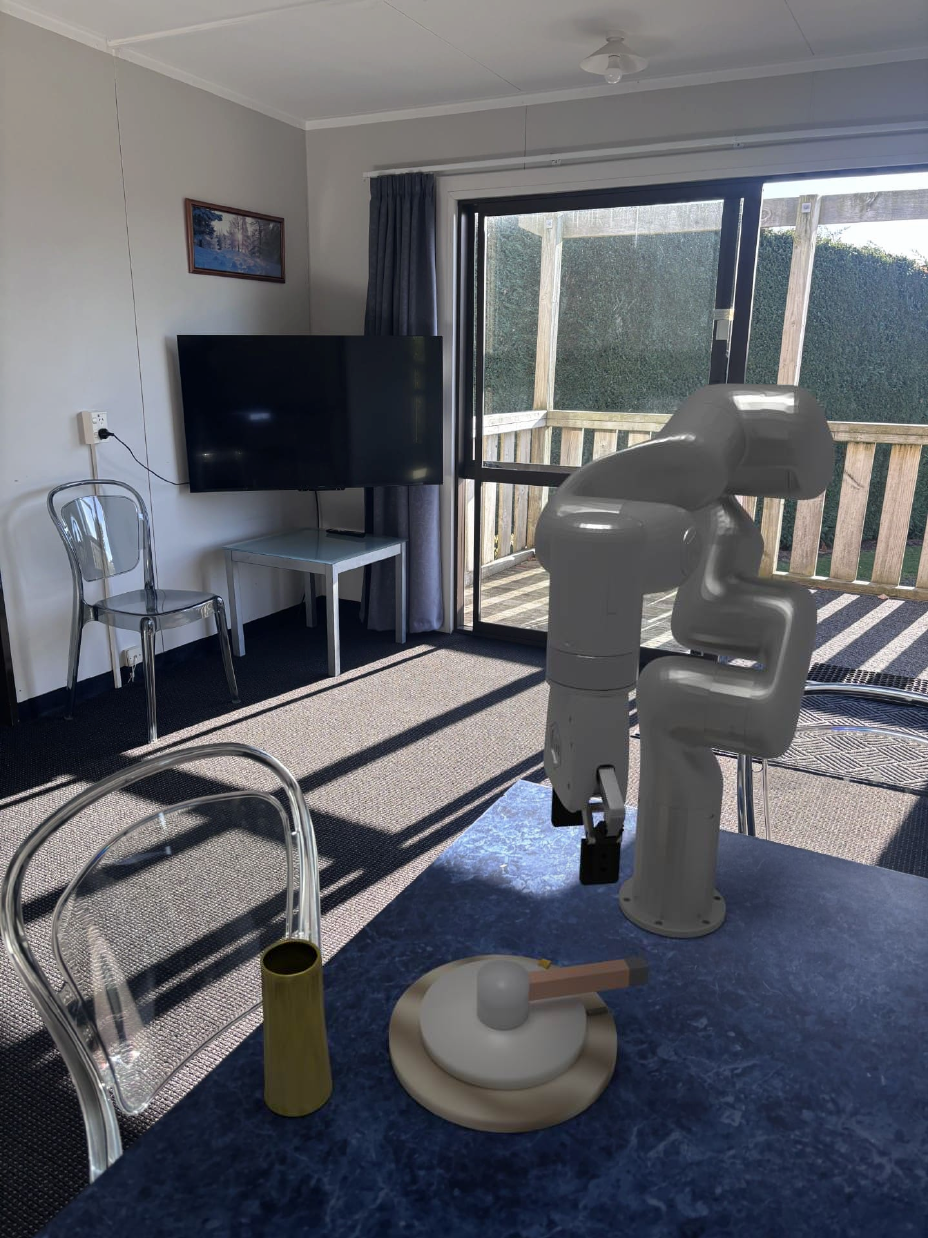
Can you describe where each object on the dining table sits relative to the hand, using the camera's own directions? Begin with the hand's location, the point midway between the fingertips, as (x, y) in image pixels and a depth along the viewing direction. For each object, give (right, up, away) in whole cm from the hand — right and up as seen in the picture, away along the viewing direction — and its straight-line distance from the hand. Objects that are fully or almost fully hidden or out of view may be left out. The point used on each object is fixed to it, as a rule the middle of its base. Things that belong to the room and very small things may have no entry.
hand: (582, 852), depth 78 cm
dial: (-3, -19, +10) cm, 22 cm away
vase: (-25, -23, +3) cm, 34 cm away
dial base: (-7, -21, +10) cm, 24 cm away
